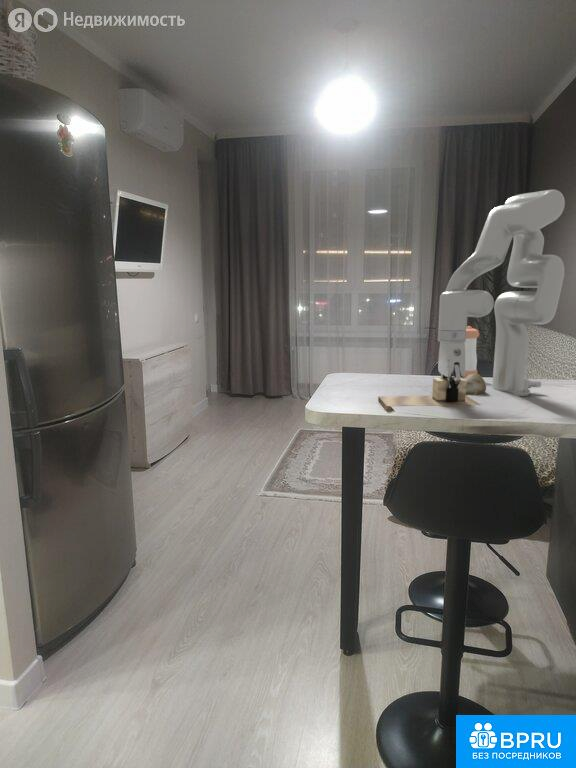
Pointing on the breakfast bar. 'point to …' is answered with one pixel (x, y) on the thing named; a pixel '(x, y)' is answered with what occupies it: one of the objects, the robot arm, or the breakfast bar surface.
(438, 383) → the block
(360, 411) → the breakfast bar surface
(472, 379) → the beige stone
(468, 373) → the pepper shaker
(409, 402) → the plank
